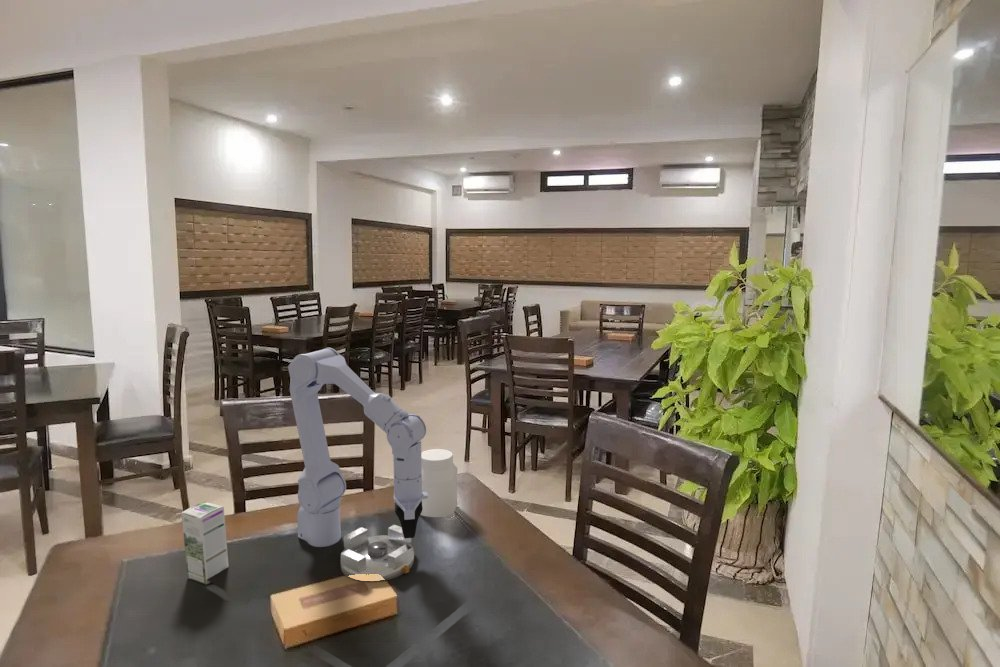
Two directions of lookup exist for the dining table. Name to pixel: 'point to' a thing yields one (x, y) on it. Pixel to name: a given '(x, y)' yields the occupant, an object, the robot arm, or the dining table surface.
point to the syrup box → (204, 541)
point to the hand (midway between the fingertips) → (409, 536)
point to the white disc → (377, 553)
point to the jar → (439, 483)
